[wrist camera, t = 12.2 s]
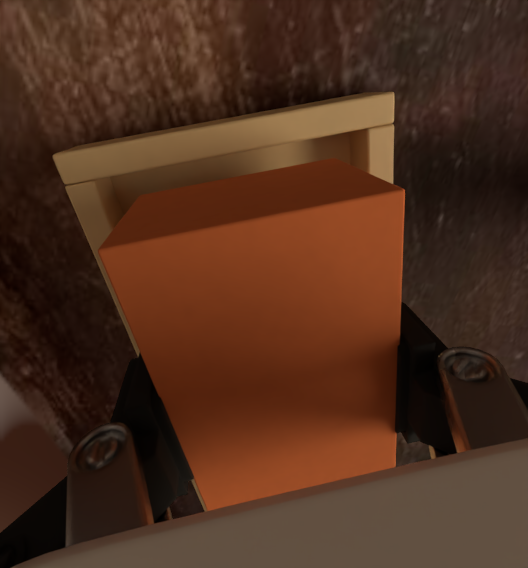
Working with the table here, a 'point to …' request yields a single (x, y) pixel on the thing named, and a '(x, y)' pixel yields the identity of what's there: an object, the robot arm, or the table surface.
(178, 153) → the wooden tray
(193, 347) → the orange angular block
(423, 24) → the table surface
